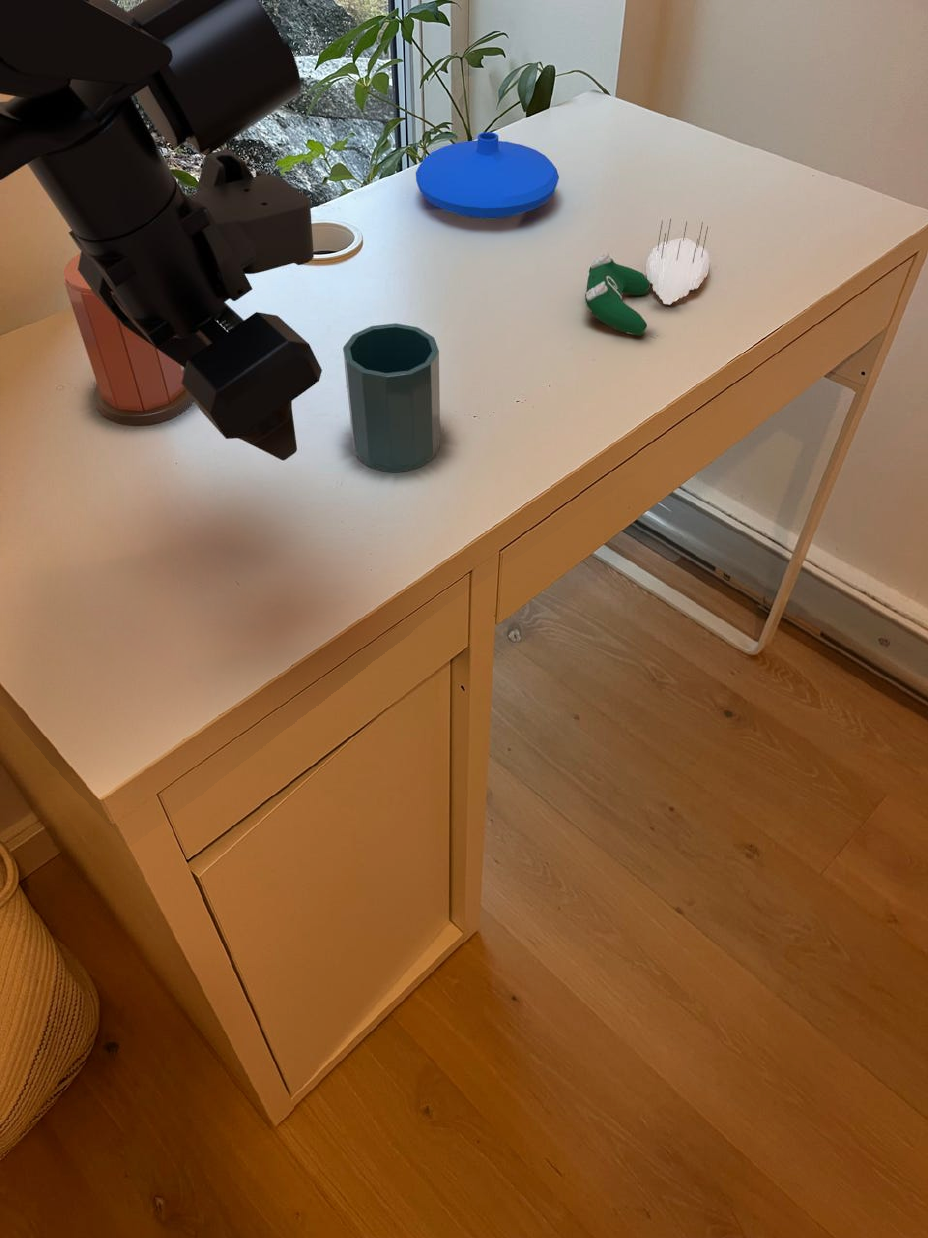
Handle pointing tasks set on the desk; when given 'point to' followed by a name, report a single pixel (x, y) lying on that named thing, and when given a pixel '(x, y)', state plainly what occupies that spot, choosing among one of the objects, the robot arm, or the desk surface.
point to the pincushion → (677, 267)
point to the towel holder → (143, 416)
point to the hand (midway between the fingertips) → (253, 417)
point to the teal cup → (393, 396)
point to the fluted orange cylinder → (120, 353)
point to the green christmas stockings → (615, 294)
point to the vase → (487, 178)
